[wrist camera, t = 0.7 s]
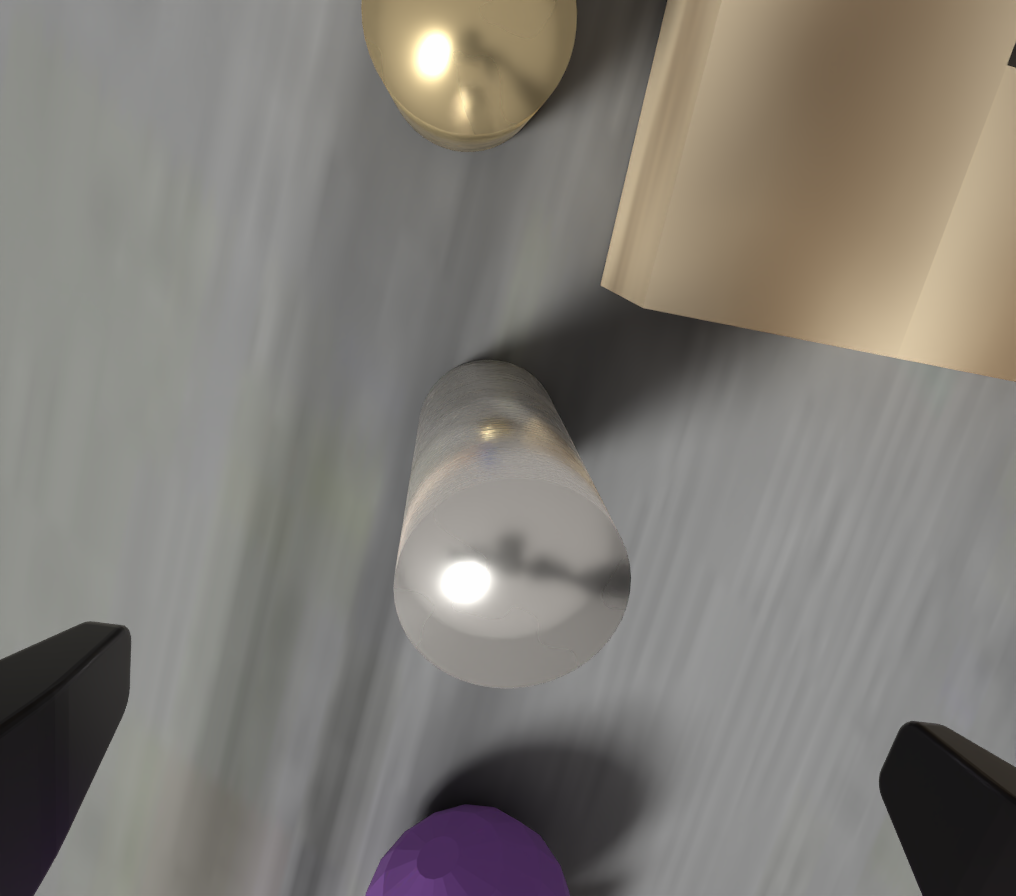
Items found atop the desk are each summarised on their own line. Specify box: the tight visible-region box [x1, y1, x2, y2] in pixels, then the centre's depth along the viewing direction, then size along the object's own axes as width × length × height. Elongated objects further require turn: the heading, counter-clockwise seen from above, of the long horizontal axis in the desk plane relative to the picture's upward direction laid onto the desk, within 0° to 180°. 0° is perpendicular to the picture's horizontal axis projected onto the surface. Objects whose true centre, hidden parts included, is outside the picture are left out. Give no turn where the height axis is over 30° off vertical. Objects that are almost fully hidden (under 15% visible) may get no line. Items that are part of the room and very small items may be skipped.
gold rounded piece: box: [361, 0, 577, 152], centre depth 13 cm, size 4×4×4 cm
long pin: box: [394, 360, 631, 688], centre depth 14 cm, size 4×4×8 cm
